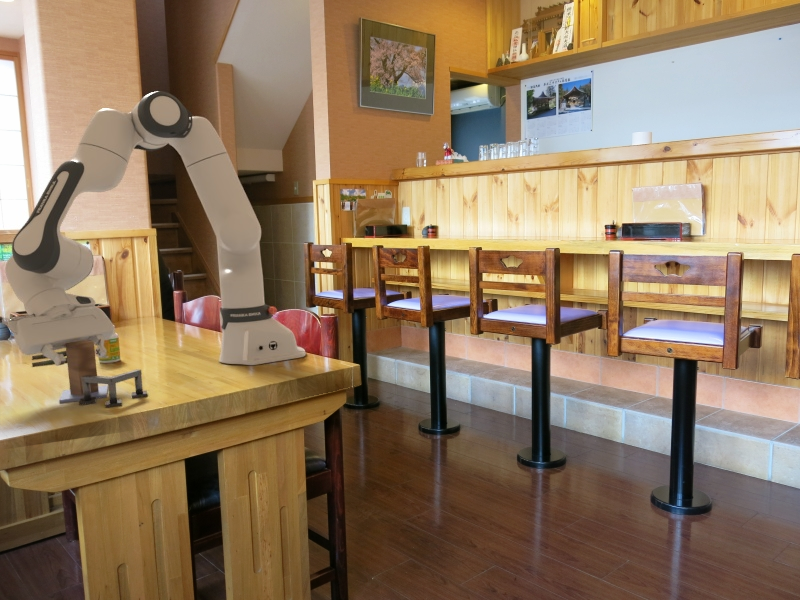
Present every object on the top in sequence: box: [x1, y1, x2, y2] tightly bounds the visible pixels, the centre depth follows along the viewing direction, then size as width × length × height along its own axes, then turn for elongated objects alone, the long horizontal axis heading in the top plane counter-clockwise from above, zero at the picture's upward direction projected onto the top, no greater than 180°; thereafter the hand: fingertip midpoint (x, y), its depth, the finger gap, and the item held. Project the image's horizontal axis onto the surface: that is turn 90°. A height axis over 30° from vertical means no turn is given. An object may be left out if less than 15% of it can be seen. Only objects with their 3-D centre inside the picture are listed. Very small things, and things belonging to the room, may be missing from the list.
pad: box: [58, 384, 109, 404], centre depth 143 cm, size 9×9×1 cm
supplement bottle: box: [96, 324, 121, 364], centre depth 178 cm, size 5×5×10 cm
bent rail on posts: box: [78, 369, 148, 408], centre depth 136 cm, size 13×8×6 cm, turn 112°
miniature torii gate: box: [31, 350, 67, 368], centre depth 185 cm, size 22×2×15 cm
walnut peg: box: [65, 340, 99, 396], centre depth 142 cm, size 4×4×11 cm
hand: (82, 358), depth 141 cm, fingers open, 8 cm apart
